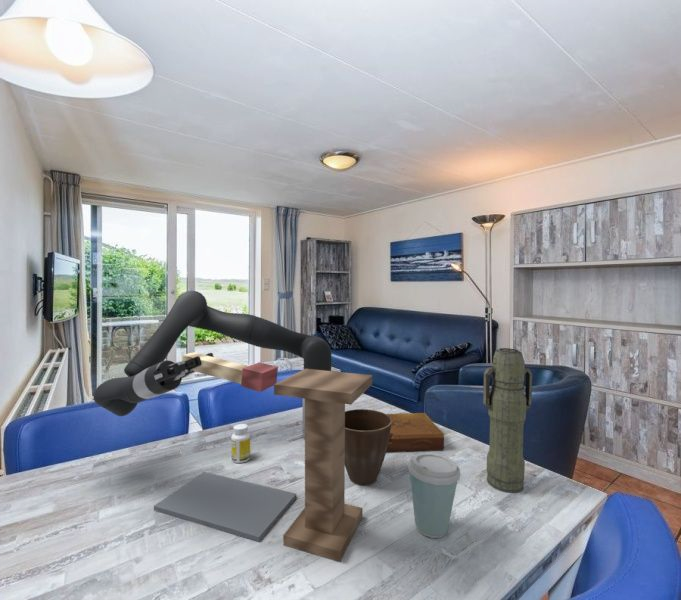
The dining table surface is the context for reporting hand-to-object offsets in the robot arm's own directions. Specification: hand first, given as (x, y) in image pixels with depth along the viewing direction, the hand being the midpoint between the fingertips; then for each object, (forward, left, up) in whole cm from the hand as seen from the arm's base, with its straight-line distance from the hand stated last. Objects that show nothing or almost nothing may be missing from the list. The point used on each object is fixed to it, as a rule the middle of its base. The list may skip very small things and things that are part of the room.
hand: (206, 358), depth 84 cm
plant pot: (-36, +16, -34) cm, 52 cm away
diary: (-62, +6, -35) cm, 71 cm away
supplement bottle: (-15, -14, -34) cm, 40 cm away
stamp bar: (-3, +5, -4) cm, 7 cm away
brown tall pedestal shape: (-16, +26, -34) cm, 45 cm away
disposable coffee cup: (-34, +40, -34) cm, 62 cm away
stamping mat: (-3, +4, -34) cm, 34 cm away
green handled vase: (-63, +41, -34) cm, 82 cm away
